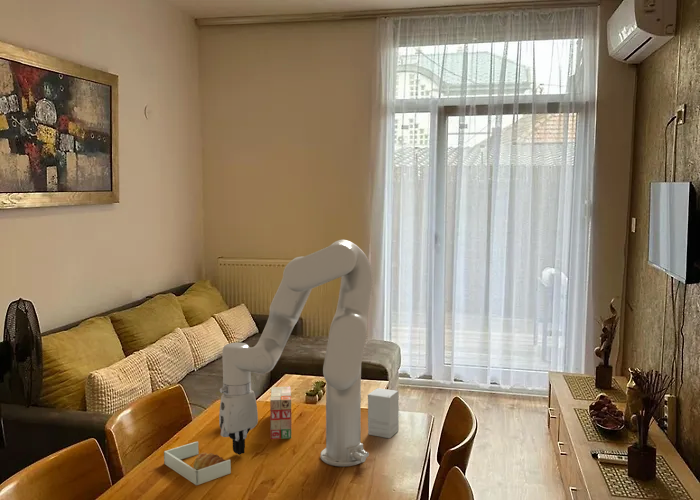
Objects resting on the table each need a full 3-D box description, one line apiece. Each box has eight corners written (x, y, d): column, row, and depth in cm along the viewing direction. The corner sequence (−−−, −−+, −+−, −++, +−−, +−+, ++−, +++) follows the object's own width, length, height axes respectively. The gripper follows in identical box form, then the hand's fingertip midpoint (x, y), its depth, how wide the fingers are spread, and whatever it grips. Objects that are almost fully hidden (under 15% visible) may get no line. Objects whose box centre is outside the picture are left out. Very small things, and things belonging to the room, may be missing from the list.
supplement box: (399, 430, 193) (399, 390, 192) (389, 439, 187) (389, 397, 186) (377, 426, 197) (377, 387, 196) (367, 434, 190) (367, 393, 189)
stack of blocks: (271, 414, 208) (271, 378, 207) (290, 414, 209) (290, 377, 207) (270, 439, 187) (270, 399, 186) (291, 439, 187) (291, 398, 186)
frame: (230, 473, 164) (230, 460, 164) (196, 485, 157) (196, 471, 157) (197, 453, 177) (197, 441, 176) (164, 463, 170) (163, 451, 170)
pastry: (235, 468, 168) (234, 454, 167) (219, 478, 162) (219, 464, 161) (206, 461, 172) (206, 448, 171) (190, 472, 166) (190, 458, 165)
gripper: (221, 397, 166) (223, 465, 167) (267, 385, 176) (268, 448, 178) (206, 391, 171) (208, 456, 173) (251, 379, 181) (253, 441, 183)
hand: (239, 452), depth 175 cm, fingers closed
